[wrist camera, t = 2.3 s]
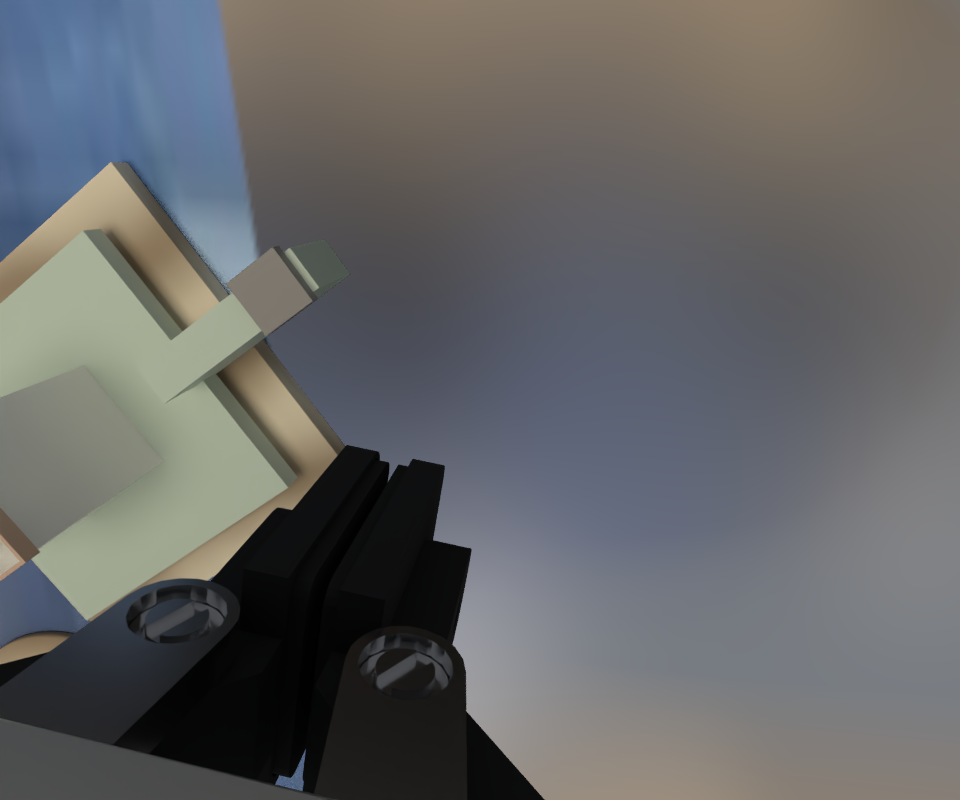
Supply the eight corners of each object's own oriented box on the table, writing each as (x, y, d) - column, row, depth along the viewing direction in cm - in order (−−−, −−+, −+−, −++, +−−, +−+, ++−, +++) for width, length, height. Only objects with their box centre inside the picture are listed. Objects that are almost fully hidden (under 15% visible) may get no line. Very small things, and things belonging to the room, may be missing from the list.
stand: (366, 473, 35) (357, 486, 33) (122, 629, 40) (104, 647, 38) (127, 162, 32) (105, 161, 30) (-107, 373, 36) (-136, 381, 35)
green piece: (432, 387, 31) (410, 420, 27) (105, 603, 37) (43, 659, 33) (234, 115, 29) (175, 103, 24) (-84, 393, 35) (-177, 423, 30)
